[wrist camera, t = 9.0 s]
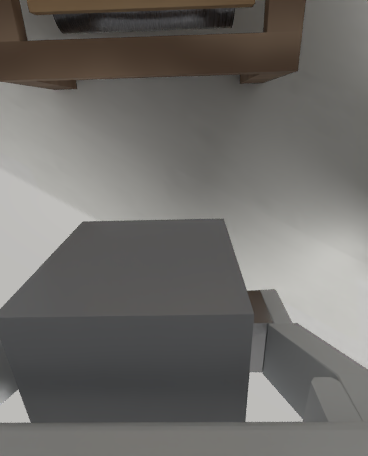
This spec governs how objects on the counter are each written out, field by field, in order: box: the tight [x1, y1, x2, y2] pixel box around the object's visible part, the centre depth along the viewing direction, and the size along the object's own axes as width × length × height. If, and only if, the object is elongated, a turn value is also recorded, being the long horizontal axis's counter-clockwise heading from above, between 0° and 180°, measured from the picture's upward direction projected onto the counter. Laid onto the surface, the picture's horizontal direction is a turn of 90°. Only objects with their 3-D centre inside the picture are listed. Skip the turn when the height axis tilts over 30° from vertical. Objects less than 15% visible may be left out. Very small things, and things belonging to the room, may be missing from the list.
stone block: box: [0, 219, 254, 423], centre depth 9 cm, size 5×5×5 cm
